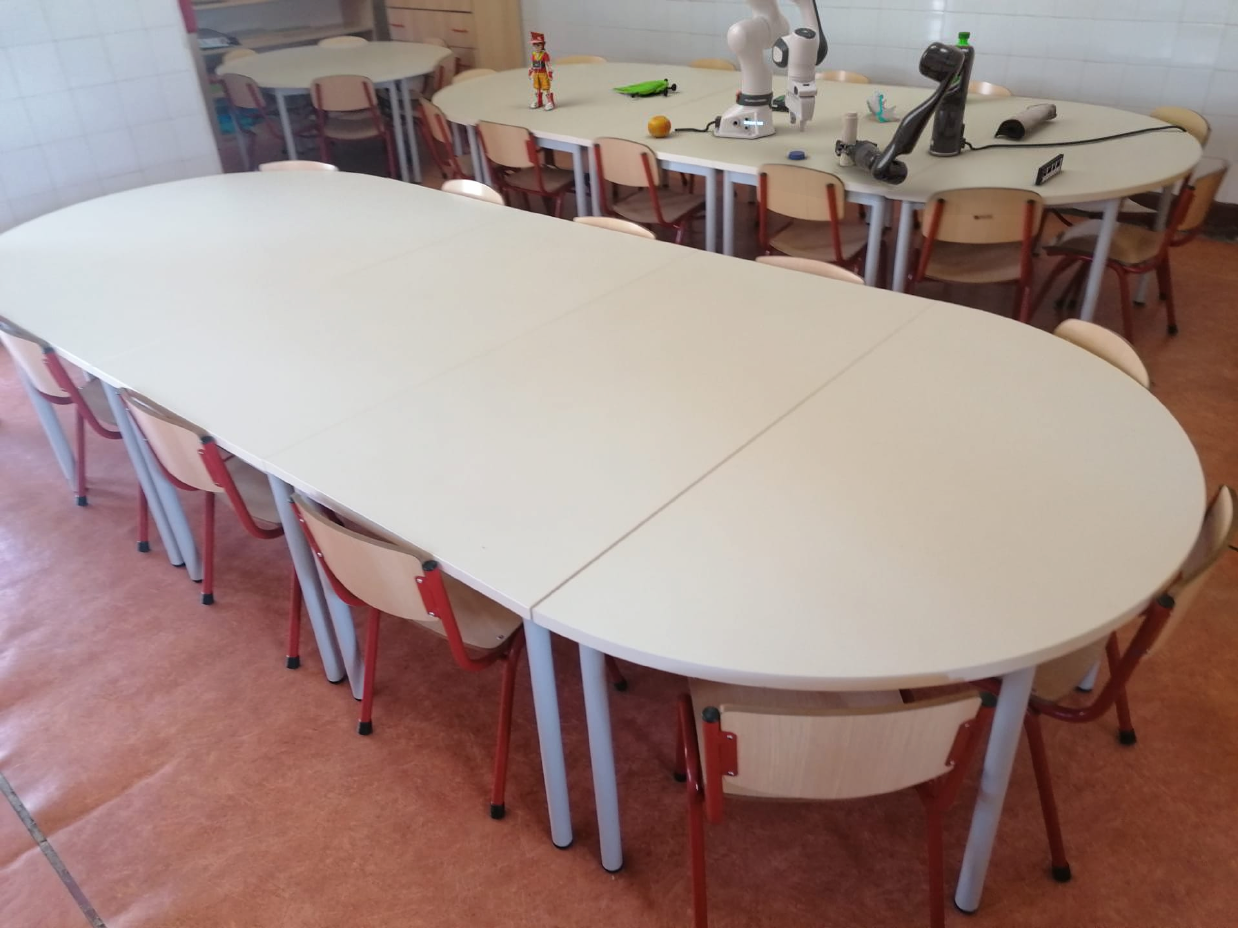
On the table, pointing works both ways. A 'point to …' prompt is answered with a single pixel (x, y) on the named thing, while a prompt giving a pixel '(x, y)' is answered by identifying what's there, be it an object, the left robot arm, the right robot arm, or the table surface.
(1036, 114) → the rolled mat
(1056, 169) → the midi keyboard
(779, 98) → the disk drive
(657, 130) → the fruit
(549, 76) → the toy
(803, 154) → the lid
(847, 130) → the jar
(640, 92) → the toy
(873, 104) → the anatomical model
